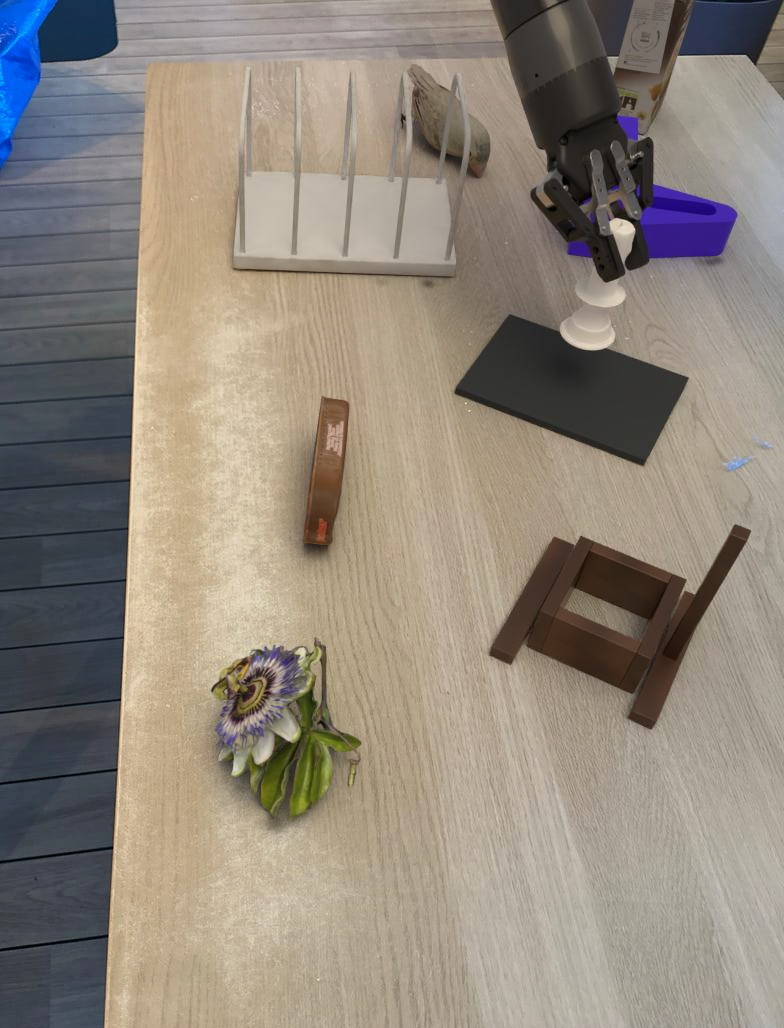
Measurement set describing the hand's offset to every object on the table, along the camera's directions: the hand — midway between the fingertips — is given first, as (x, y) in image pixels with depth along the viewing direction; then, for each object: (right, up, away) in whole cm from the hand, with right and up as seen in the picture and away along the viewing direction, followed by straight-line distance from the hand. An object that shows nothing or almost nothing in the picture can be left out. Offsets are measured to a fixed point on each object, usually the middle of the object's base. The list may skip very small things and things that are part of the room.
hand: (626, 272), depth 89 cm
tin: (-27, -20, +3) cm, 34 cm away
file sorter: (-24, +15, +28) cm, 40 cm away
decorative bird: (-11, +30, +39) cm, 51 cm away
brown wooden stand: (-4, -32, -5) cm, 33 cm away
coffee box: (+15, +38, +46) cm, 61 cm away
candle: (-1, -3, +8) cm, 8 cm away
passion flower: (-30, -41, -12) cm, 53 cm away
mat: (-2, -7, +13) cm, 15 cm away
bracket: (+12, +15, +29) cm, 34 cm away
